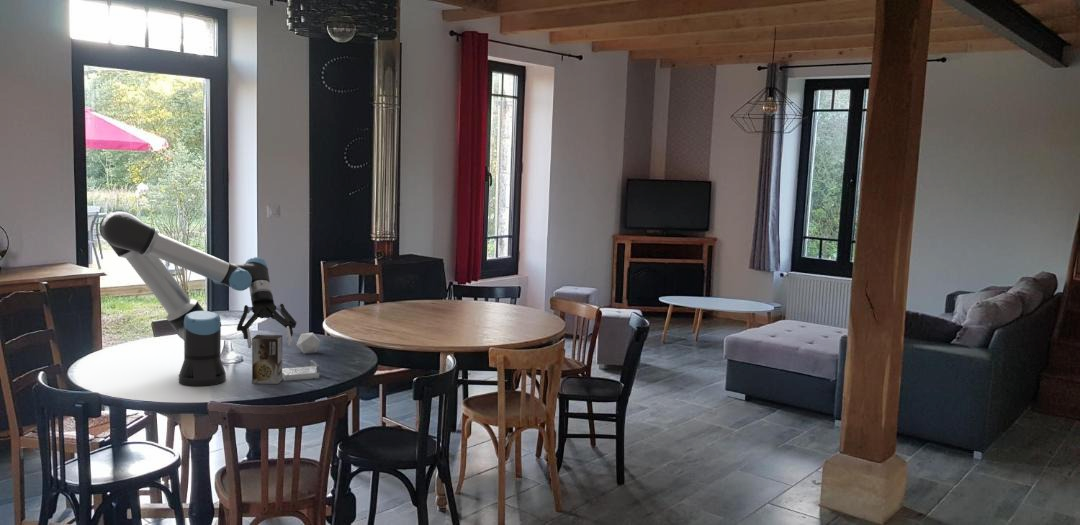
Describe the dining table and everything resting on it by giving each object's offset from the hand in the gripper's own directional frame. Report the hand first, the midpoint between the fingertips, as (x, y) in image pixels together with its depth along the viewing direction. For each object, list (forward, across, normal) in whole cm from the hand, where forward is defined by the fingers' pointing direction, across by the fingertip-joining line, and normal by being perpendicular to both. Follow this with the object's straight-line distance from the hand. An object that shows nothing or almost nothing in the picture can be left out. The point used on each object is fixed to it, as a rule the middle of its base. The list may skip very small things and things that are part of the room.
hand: (270, 344), depth 294 cm
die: (-18, +23, +37) cm, 47 cm away
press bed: (+7, +11, +11) cm, 17 cm away
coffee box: (+10, -1, +8) cm, 13 cm away
